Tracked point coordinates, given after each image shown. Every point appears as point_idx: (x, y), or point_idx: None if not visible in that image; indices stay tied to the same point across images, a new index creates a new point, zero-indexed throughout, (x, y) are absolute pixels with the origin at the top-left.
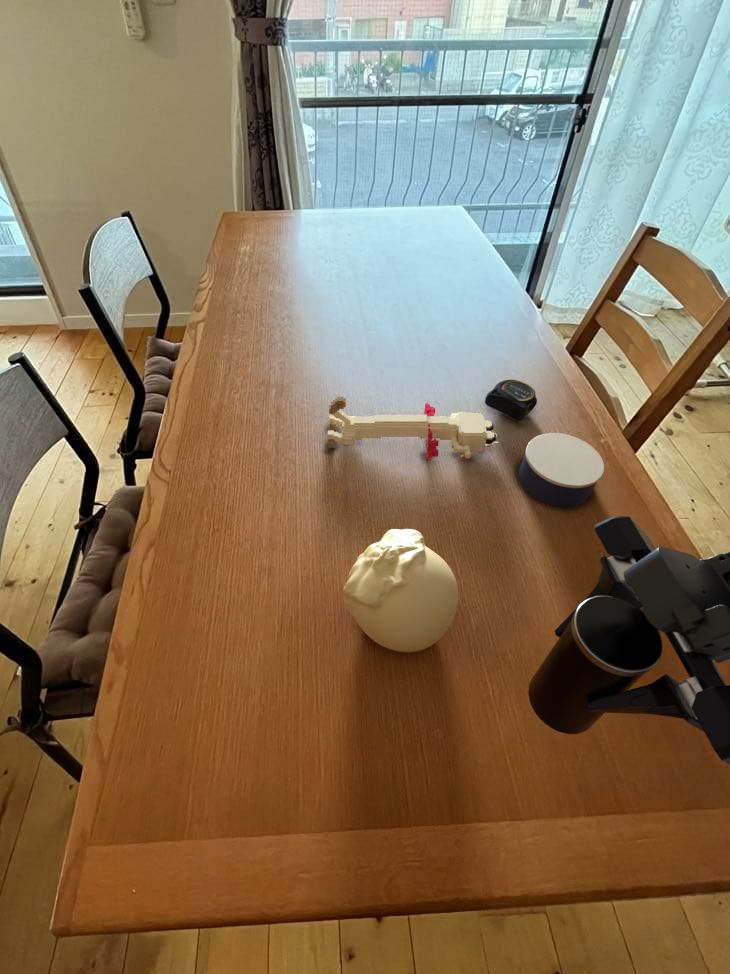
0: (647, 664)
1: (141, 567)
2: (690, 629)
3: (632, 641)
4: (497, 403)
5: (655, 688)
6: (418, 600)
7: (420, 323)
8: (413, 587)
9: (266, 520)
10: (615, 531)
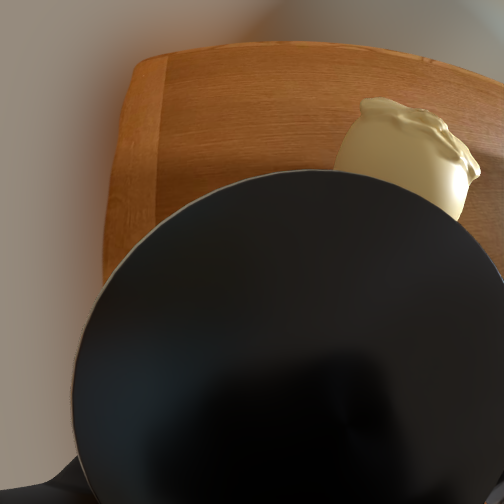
0: None
1: (351, 46)
2: None
3: (271, 496)
4: None
5: (81, 498)
6: (387, 149)
7: None
8: (401, 139)
9: (429, 107)
10: None
